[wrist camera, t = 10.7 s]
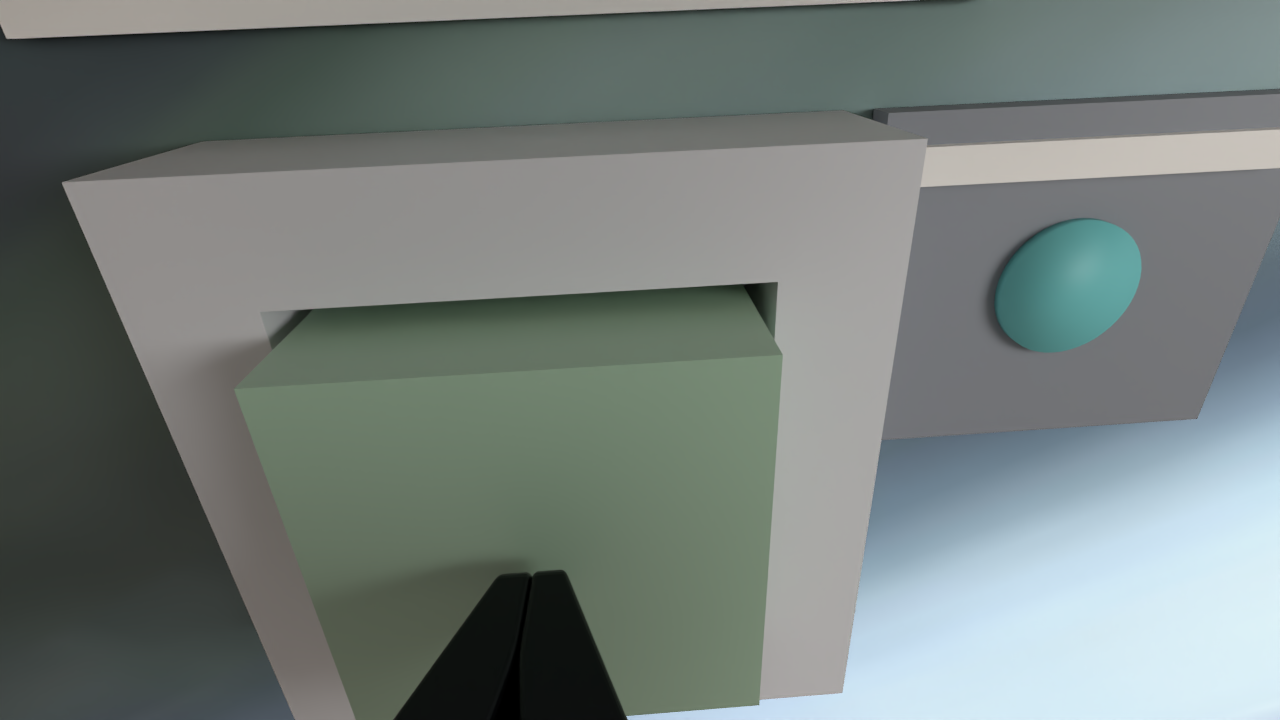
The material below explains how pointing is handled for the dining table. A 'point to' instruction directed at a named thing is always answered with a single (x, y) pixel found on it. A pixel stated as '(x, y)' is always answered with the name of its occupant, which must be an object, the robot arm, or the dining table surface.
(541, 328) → the button
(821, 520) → the button housing
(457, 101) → the dining table surface
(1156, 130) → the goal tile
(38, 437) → the dining table surface
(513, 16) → the paper
